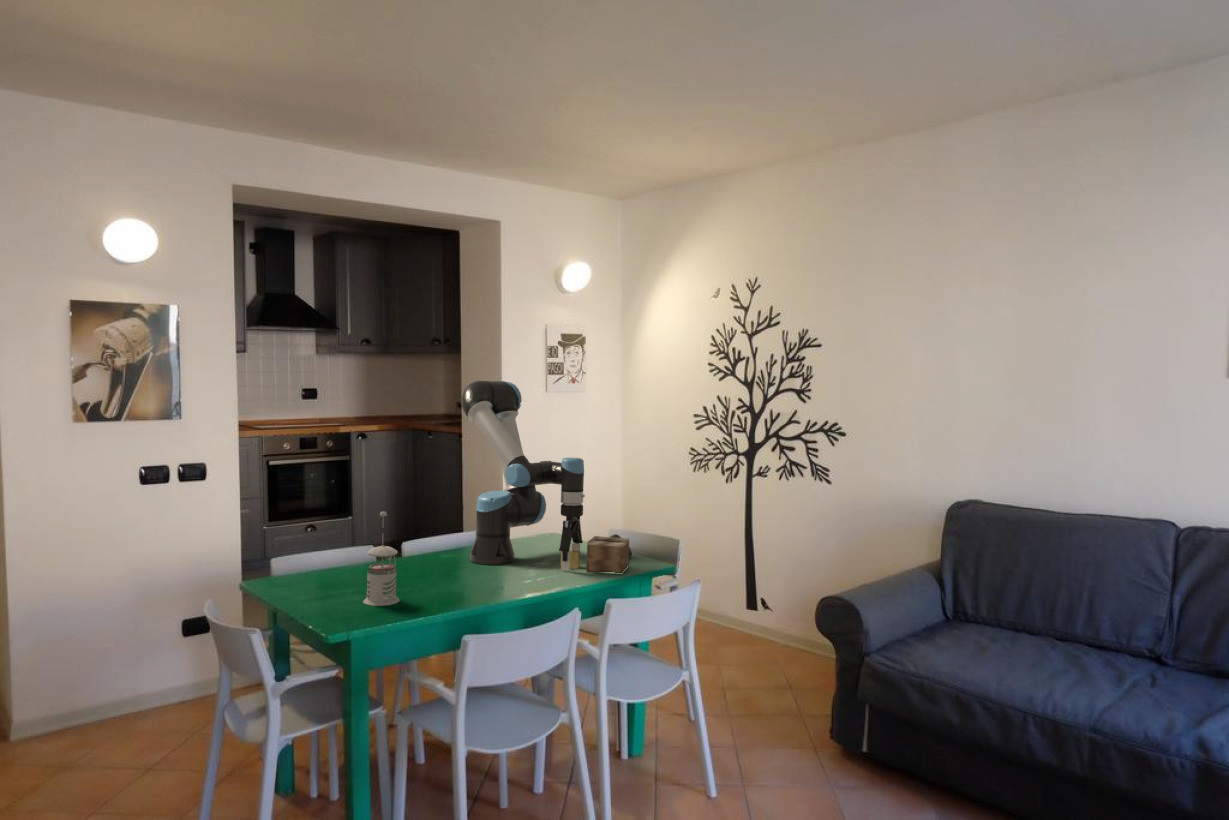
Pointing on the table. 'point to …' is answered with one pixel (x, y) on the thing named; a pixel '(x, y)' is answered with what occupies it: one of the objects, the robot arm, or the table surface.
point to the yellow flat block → (574, 559)
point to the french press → (381, 577)
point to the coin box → (607, 554)
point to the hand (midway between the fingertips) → (570, 566)
